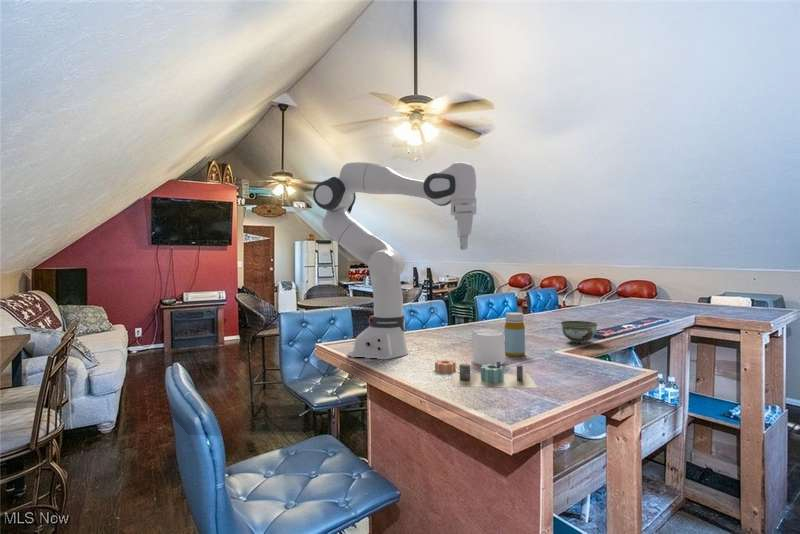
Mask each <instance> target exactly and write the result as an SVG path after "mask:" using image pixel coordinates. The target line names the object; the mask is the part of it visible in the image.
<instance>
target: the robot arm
mask: <svg viewBox="0 0 800 534" xmlns="http://www.w3.org/2000/svg"><path fill="white" fill-rule="evenodd" d="M476 175H477V174H476V170H475V168H474V166H473V165H472V164H470V163H468V162H463V161H457V162H456V161H455V162H453V163H452V164H451V165H450V166H448V167H447V168H445V169H443V170H440V171H437V172H434V173H431V174H429V175H428V176H427V177H426V178H425V179H424V180H422V179H421V180H419V179H413V178H409V177H405V176H403V175H401V174H399V173H398V172H396V171H394V170H393V169H391V168H390V167H387V166H385V165H382V164H378V163H373V162H361V161H359V162H358V161H357V162H355V161H354V162H348V163H345V164H344V165H343V166H342V167H341V169H340V172H339V176H338V177H337V176H333V177H330V178H328V179H326V180H323V181H321V182H319V183H317V185H316V186H315V187H314V189H313V190H312V191H313V192H312V196H313V201H314V202H315V204H316V205H317V206H318V207H319V209H320V208H321V209H323V210H325V211H326V213H325V215H324V217H323V219H322V224H321V225H322V228H323V229H324V230H325V232H326V233H327V234H328V235H329V237H331V239H333V240H334V241H335V242H336V243H337V244H338V245H339V246H340V247H342V248H343V249H345V251H347V252H348V253H349V254H350V255H352V256H353V257H354V258H356V259H358V260H359V261H361V262H362V263H364V264H365V265H367V269H368V271H369V276H370V278H369V279H370V283H371V287H372V288H371V289H372V297H373V315H370V316H369V318H368V327H366V328H365V329H364V330H363V331H361V333H359V334H358V335H357V336H356V337H355V340H354V343H353V348H351V349H350V350H349V351H348V352H347V356H348V355H349V356H351V357H350V358H354V357H365V358H364V359H370V358H377V359H376V360H391V359H394V358H399V357H400V358H401V357H403V356H404V357H405V356H406V355H408V354H409V350H408V347H407V342H406V336H405V329H406V320H405V315H404V293H403V290H402V283H401V274H402V273H403V272H404V269H405V267H406V266H405V265H406V264H405V263H406V262H405V259H404V257H403V256H402V254H401V253H400V252H398V251H397V250H396V249H395V248H393V247H392V246H390V245H389V244H387V242H385V241H383V240H382V239H380V238H379V237H377V236H376V235H375V234H373V232H371V231H369V229H367V228H366V227H364V225H362V224H361V223H360V222H358V221H357V220H356V219H355V218H353V217H352V216H351V215H350V214H351V213H352V209H353V206H354V205H355V202H356V199H357V195H356V193H363V194H368V195H403V196H410V197H415V198H416V197H417V198H421V199H425V200H429V201H430V202H431V203H433V204H435V205H437V206H440V207H445V206H448V205H450V215H451V216H454V218H453V219H454V220H456V224H457V225H456V227H457V229H456V230H457V231H456V233H457V234H456V235H457V238H459V245H460V250H461V251H464V250H465V251H466V250H467V249H468V243H469V236H470V235H471V234H472V230H473V219H474V216H475V215H477V198H476V197H477V196H476V190H477V176H476ZM349 356H348V357H349Z"/></svg>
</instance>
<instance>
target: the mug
mask: <svg viewBox="0 0 800 534" xmlns="http://www.w3.org/2000/svg"><path fill="white" fill-rule="evenodd" d="M471 337H472V339H471V340H472V363H474V364H476V365H487V364H491V365H497V361H499V362H500V366H502V365H503V364H505V332H504V331H500V330H497V329H495V330H493V329H479V330H474V331H472V336H471Z"/></svg>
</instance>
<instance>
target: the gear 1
mask: <svg viewBox="0 0 800 534" xmlns="http://www.w3.org/2000/svg"><path fill="white" fill-rule="evenodd" d="M434 370H435V371H436V373H443V374H448V373H451V374H452V373H455V371H457V369H456V361H454V360H453V359H452V360H451V359H450V360H448V359H442V360H440V359H439V360H437V361H434Z"/></svg>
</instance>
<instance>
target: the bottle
mask: <svg viewBox="0 0 800 534" xmlns="http://www.w3.org/2000/svg"><path fill="white" fill-rule="evenodd" d="M504 354H505V355H506V356H508V357H514V358H515V357H516V358H517V357H518V358H520V357H523V356H524V355H525V354H526V327H525V324H524V313H523V312H517V311H511V312H505V324H504Z"/></svg>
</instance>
